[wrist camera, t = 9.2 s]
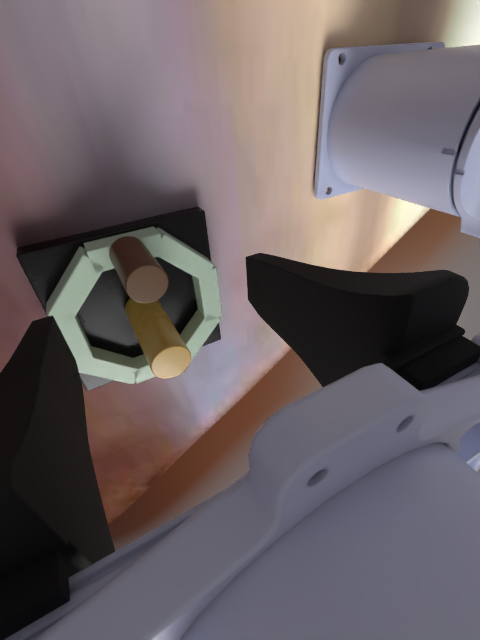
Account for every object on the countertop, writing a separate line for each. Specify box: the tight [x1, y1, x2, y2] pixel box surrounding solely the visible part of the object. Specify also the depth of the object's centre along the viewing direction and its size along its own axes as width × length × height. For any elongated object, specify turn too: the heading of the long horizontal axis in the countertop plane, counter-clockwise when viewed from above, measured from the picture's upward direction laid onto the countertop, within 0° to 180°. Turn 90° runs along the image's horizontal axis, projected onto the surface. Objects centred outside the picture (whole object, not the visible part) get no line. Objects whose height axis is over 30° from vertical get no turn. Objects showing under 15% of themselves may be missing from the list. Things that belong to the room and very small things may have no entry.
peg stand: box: [16, 207, 221, 391], centre depth 18 cm, size 10×10×6 cm
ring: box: [46, 227, 222, 384], centre depth 18 cm, size 10×9×5 cm
